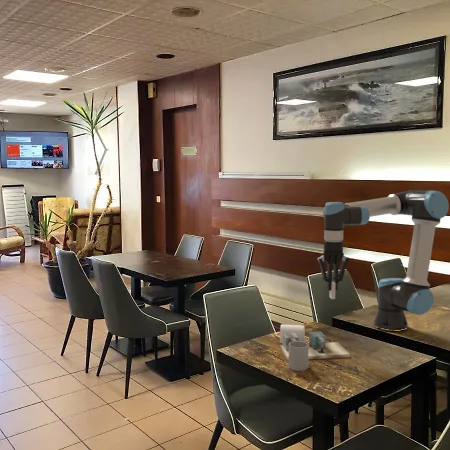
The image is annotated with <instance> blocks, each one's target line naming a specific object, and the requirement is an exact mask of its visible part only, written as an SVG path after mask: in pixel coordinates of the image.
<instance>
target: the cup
mask: <svg viewBox="0 0 450 450" xmlns="http://www.w3.org/2000/svg"><path fill="white" fill-rule="evenodd" d="M308 344H309V343H308V342H306V341H304V342H302V341H293V342H290V343H289V360H288V368H289V369H290V370H292V371H294V372H304V371H307V370H308V369H309V359H308Z"/></svg>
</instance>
